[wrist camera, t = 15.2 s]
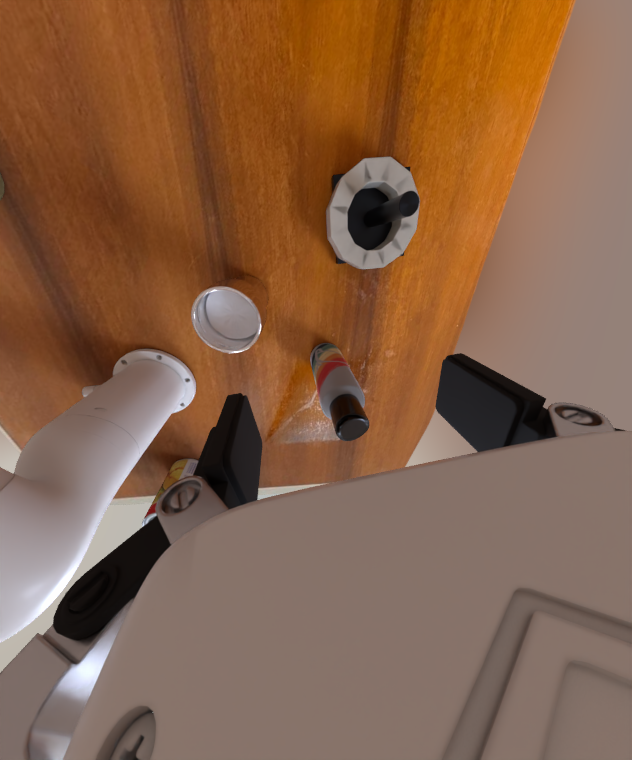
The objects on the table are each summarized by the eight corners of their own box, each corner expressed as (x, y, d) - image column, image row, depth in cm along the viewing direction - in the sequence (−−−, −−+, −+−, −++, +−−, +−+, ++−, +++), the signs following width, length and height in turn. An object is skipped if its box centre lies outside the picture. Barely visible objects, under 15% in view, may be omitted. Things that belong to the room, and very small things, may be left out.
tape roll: (328, 270, 34) (332, 272, 31) (324, 168, 28) (327, 160, 26) (402, 263, 34) (412, 264, 32) (413, 162, 29) (425, 154, 26)
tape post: (336, 263, 35) (358, 268, 24) (331, 177, 30) (357, 135, 19) (400, 255, 35) (450, 256, 24) (406, 169, 30) (471, 124, 19)
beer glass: (215, 293, 35) (172, 317, 22) (247, 261, 33) (223, 266, 20) (249, 327, 38) (230, 367, 25) (280, 299, 36) (278, 326, 23)
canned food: (165, 475, 51) (135, 531, 41) (180, 453, 49) (151, 508, 38) (199, 486, 54) (179, 541, 44) (215, 466, 52) (197, 520, 41)
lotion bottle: (325, 335, 40) (356, 399, 22) (346, 355, 42) (389, 427, 25) (303, 358, 41) (316, 434, 24) (325, 376, 44) (351, 457, 26)
